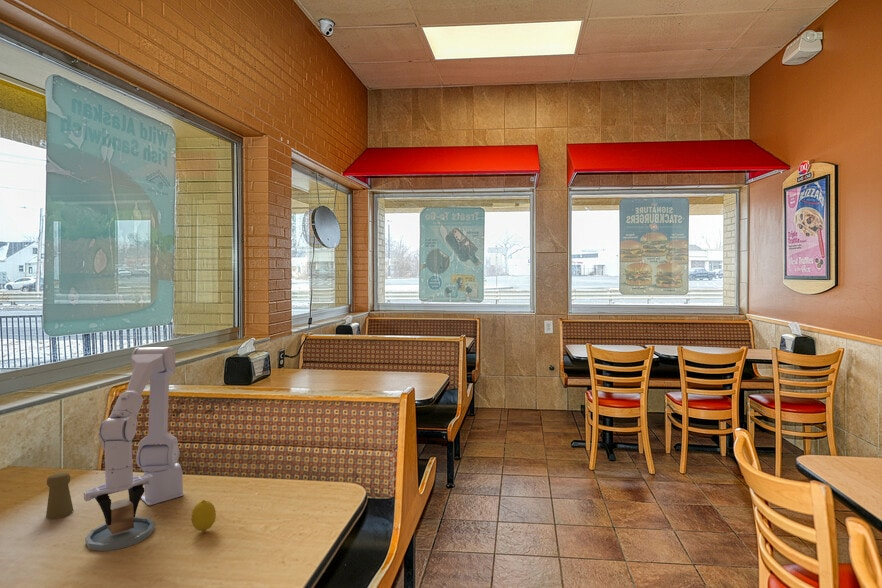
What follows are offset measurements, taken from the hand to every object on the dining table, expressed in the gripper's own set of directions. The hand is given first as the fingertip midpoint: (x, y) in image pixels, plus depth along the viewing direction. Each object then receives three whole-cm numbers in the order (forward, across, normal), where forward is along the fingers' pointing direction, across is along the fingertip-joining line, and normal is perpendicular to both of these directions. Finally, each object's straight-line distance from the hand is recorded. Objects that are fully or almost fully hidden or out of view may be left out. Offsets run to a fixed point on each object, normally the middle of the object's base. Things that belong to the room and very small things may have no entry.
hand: (120, 520), depth 128 cm
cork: (+4, -8, +26) cm, 28 cm away
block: (+2, 0, 0) cm, 2 cm away
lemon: (+4, +15, -13) cm, 20 cm away
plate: (+4, 0, 0) cm, 4 cm away
